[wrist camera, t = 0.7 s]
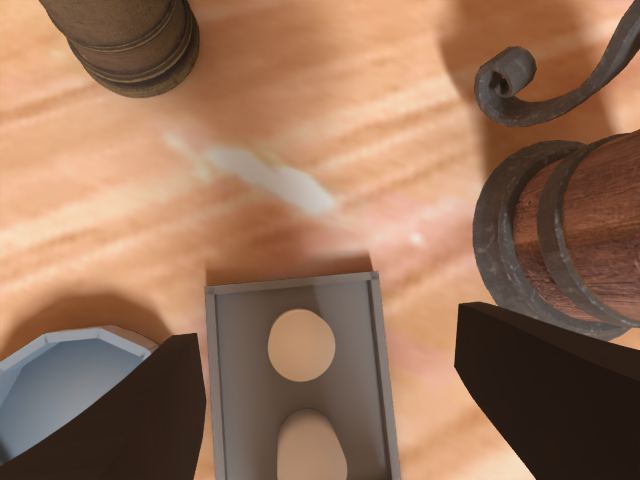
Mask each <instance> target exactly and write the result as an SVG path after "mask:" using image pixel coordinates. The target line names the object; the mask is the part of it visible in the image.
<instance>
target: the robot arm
mask: <svg viewBox="0 0 640 480" xmlns="http://www.w3.org/2000/svg"><path fill="white" fill-rule="evenodd" d="M454 367H455V369H456V371H457V372H458V374H459V376H460V378H461V380H462V381H463V383H464V385H465V387H466V388H467V390H468V391H469V393H470V395H471V396H472V398H473V399H474V400H475V402H476V403H477V404H478V406H479V407H480V408H481V410H482V411H483V412H484V414H485V415H486V416H487V417H488V419H489V420H490V421H491V423H492V424H493V425H494V426H495V428H496V429H497V430H498V431H499V433H500V434H501V435H502V436H503V438H504V439H505V440H506V441H507V443H508V444H509V445H510V446H511V448H512V449H513V450H514V452H515V453H516V454H517V455H518V457H519V458H520V459H521V460H522V462H523V463H524V464H525V465H526V467H527V468H528V469H529V471H530V472H531V473H532V475H533V476H534V477H535V479H536V480H640V350H637V349H633V348H628V347H624V346H621V345H617V344H613V343H610V342H606V341H603V340H600V339H596V338H593V337H590V336H586V335H583V334H580V333H577V332H573V331H570V330H567V329H564V328H561V327H558V326H555V325H552V324H549V323H546V322H543V321H540V320H538V319H535V318H532V317H529V316H526V315H523V314H520V313H517V312H514V311H511V310H508V309H505V308H502V307H499V306H495V305H492V304H488V303H483V302H471V303H462V304H459V307H458V321H457V335H456V348H455V362H454ZM205 410H206V394H205V387H204V380H203V373H202V366H201V359H200V352H199V344H198V337H197V333H191V334H182V335H173V336H171V337H170V338H168V339H167V340H166V341H165V342H164V343H163V344H162V345H160V346H159V347H158V348H157V349H156V350H155V351H154V352H153V353H152V354H151V355H149V356H148V357H147V358H146V359H145V360H144V361H143V362H142V363H141V364H139V365H138V366H137V367H136V368H135V369H134V370H133V371H132V372H131V373H129V374H128V375H127V376H126V377H125V378H124V379H123V380H121V381H120V382H119V383H118V384H116V385H115V386H114V387H113V388H112V389H110V390H109V391H108V392H107V393H105V394H104V395H103V396H102V397H100V398H99V399H98V400H97V401H96V402H94V403H93V404H92V405H91V406H89V407H88V408H87V409H85V410H84V411H83V412H82V413H80V414H79V415H78V416H76V417H75V418H73V419H72V420H71V421H69V422H68V423H66V424H65V425H64V426H62V427H61V428H59V429H58V430H56V431H55V432H53V433H52V434H50V435H49V436H48V437H46V438H45V439H43V440H42V441H40V442H39V443H37V444H36V445H34V446H33V447H31V448H29V449H28V450H26V451H25V452H23V453H21V454H20V455H18V456H16V457H15V458H13V459H11V460H10V461H8V462H6V463H5V464H3V465H1V466H0V480H193V479H194V475H195V470H196V466H197V461H198V457H199V452H200V448H201V443H202V439H203V430H204V421H205Z"/></svg>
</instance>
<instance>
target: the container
mask: <svg viewBox="0 0 640 480" xmlns="http://www.w3.org/2000/svg"><path fill="white" fill-rule="evenodd" d="M39 1H40V3H41V4H42V5H43V7H44V8H45V9H46V11H47V13H48V15H49V17H50V19H51V21H52V22H53V23H54V25H55V26H56V27H57V28H58V30H59V31H60V32H62V33H63V34H64V35H65V36H66V38H67V41H68V44H69V46H70V48H71V50H72V51H73V53H74V55H75V56H76V57H77V59H78V60H79V61H80V62H81V64H82V65H83V67H84V68H85V69H86V71H87V72H88V73H89V74H90V76H91V77H92V78H93V79H95V80H96V81H97V82H98V83H99V84H101V85H102V86H104V87H105V88H107V89H109V90H111V91H113V92H115V93H117V94H120V95H123V96H126V97H131V98H147V97H152V96H156V95H159V94H162V93H165V92H167V91H169V90H171V89H172V88H174V87H175V86H177V85H178V84H179V83H180V82H182V81H183V79H184V78H185V77H186V76H187V75H188V74H189V72H190V71H191V69H192V68H193V66H194V64H195V61H196V58H197V55H198V50H199V29H198V25H197V22H196V19H195V17H194V15H193V13H192V11H191V9H190V6H189V3H188V1H187V0H39Z"/></svg>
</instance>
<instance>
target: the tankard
mask: <svg viewBox="0 0 640 480" xmlns="http://www.w3.org/2000/svg"><path fill="white" fill-rule="evenodd" d="M639 49H640V0H634V2H633V3H632V5H631V6H630V7H629V9H628V10H627V12H626V13H625V14H624V16H623V17H622V18H621V20H620V22H619V24H618V26H617V28H616V30H615V32H614V34H613V36H612V38H611V40H610V42H609V44H608V46H607V48H606V50H605V52H604V54H603V56H602V58H601V61H600V62H599V64H598V65H597V67H596V68H595V70H594V71H593V73H592V74H591V76H590V77H589V78H588V79H587V80H586V81H585V82H584V83H583V84H582V85H581V86H580V87H579V88H577V89H575V90H573V91H571V92H569V93H567V94H565V95H563V96H560V97H557V98H554V99H550V100H547V101H542V102H532V103H531V102H526V101H522V100H520V99H518V98H517V97H515V96H513V95H514V94H516V93H517V92H518V91H520V90H521V89H523V88H524V87H525V86H527V85H528V84H529V83H530V82H531V81H532V80H533V77H534V75H535V72H536V69H537V68H536V63H535V59H534V58H533V56H532V55H531V54H530V52H529V51H527V50H525V49H523V48H521V47H519V46H516V47H508V48H507V49H505V50H504V51H502V52H501V53H499V54H498V55H497V56H495V57H494V58H492V59H491V60H489V61H488V62H487V63H485V64H484V65H482V66H481V67H480V69H479V71H478V73H477V75H476V77H475V85H474V91H475V97H476V101H477V103H478V105H479V107H480V109H481V110H482V111H483V112H484V113H485V114H486V115H487V116H488V117H489V118H490V119H492V120H493V121H495V122H496V123H499V124H502V125H505V126H508V127H528V126H532V125H536V124H540V123H544V122H548V121H550V120H552V119H554V118H557V117H559V116H561V115H563V114H566V113H567V112H569V111H570V110H572V109H573V108H575V107H577V106H578V105H580V104H581V103H583V102H584V101H585V100H587V99H588V98H589V97H591V96H592V95H593V94H595V93H596V92H597V91H599V90H600V89H601V88H602V87H604V86H605V85H606V84H608V83H609V82H610V81H611V80H612V79H613V78H614V77H615V76H617V75H618V74H619V73H620V72H621V71H622V70H623V69H624V68H625V67H626V66H627V65H628V63H629V62H630V61H631V59H632V58H633V57H634V56H635V54H636V53H637V52H638V51H639ZM503 77H504V78H503ZM473 248H474V253H475V258H476V263H477V267H478V269H479V272H480V274H481V277H482V279H483V282H484V284H485V286H486V288H487V290H488V291H489V293H490V294H491V296H492V298H493V299H494V301H495V302H496V304H497V305H498V306H499V307H502V308H505V309H508V310H511V311H514V312H517V313H520V314H523V315H526V316H529V317H532V318H535V319H538V320H540V321H543V322H546V323H549V324H552V325H555V326H558V327H561V328H564V329H567V330H570V331H573V332H577V333H580V334H583V335H586V336H590V337H593V338H596V339H600V340H603V341H606V342H607V341H610V340H612V339H614V338H617V337H619V336H621V335H623V334H624V333H625V332H627V331H628V330H629V329H631V328H632V327H634V328H640V129H639V130H637V131H634V132H632V133H625V134H616V135H613V136H610V137H607V138H605V139H602V140H599V141H596V142H594V143H592V144H589V145H586V144H582V143H579V142H573V141H562V140H555V141H547V142H539V143H536V144H534V145H531V146H528V147H525V148H522V149H521V150H519V151H517V152H516V153H514V154H512V155H511V156H509V157H508V158H506V159H505V160H504V161H503V162H502V163H501V164H500V165H499V166H498V167H497V168H496V169H495V170H494V171H493V173H492V174H491V176H490V177H489V179H488V180H487V182H486V183H485V185H484V186H483V189H482V191H481V194H480V196H479V199H478V201H477V204H476V208H475V214H474V219H473Z"/></svg>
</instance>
